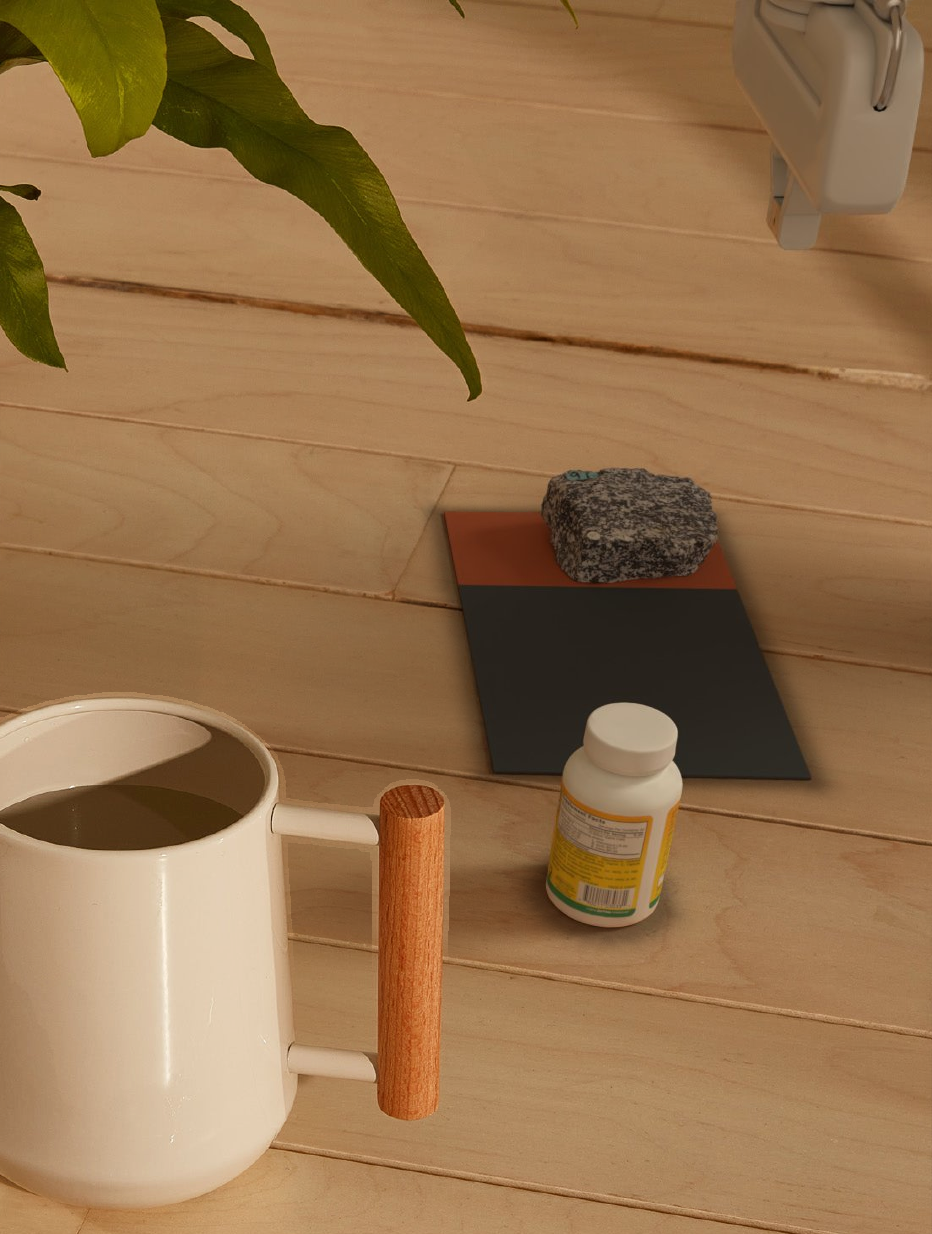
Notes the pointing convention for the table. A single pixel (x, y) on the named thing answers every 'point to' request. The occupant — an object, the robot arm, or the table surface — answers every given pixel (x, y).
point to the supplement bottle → (615, 817)
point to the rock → (628, 524)
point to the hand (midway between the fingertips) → (789, 239)
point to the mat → (612, 655)
